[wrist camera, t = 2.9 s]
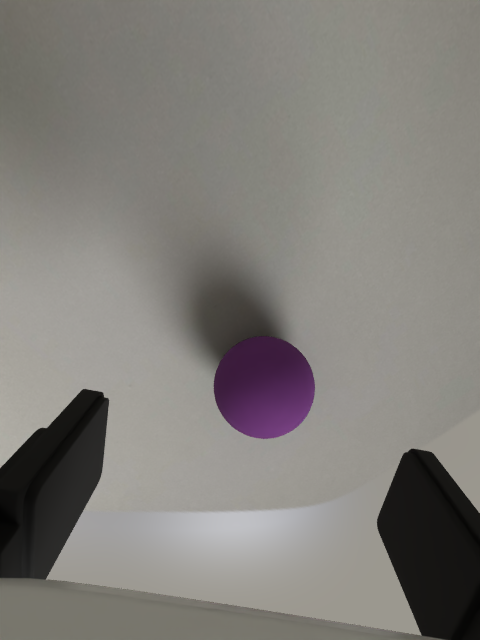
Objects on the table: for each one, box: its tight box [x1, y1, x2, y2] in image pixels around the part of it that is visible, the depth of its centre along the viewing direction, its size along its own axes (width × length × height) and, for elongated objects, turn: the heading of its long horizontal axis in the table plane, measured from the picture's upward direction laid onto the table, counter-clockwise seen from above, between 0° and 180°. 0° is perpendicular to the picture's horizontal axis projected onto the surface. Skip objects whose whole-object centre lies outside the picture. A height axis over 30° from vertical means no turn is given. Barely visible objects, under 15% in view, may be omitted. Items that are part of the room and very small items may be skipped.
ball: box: [214, 336, 315, 439], centre depth 15 cm, size 4×4×4 cm
